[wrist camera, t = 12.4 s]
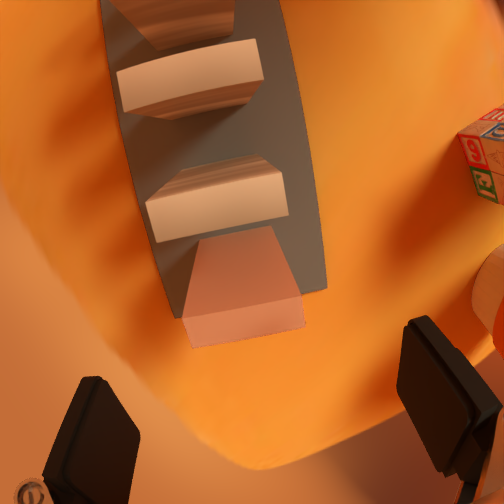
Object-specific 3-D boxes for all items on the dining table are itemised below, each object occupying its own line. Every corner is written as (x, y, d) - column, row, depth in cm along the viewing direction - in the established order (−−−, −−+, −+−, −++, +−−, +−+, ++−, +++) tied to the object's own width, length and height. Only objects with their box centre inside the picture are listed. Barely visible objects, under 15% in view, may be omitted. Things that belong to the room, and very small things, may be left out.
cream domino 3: (182, 169, 21) (145, 202, 11) (257, 153, 21) (281, 172, 11) (187, 192, 21) (156, 242, 12) (261, 177, 21) (288, 215, 12)
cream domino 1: (154, 31, 17) (103, -32, 8) (228, 14, 17) (230, -64, 8) (157, 51, 17) (106, -3, 8) (232, 34, 17) (237, -36, 8)
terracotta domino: (199, 239, 22) (181, 318, 13) (270, 225, 22) (301, 295, 13) (205, 260, 23) (192, 348, 14) (274, 246, 23) (305, 327, 14)
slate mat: (99, -27, 15) (97, -29, 14) (259, -64, 15) (259, -66, 14) (175, 315, 25) (174, 318, 25) (326, 285, 25) (327, 288, 24)
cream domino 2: (166, 97, 19) (116, 72, 9) (242, 80, 19) (255, 38, 9) (171, 120, 19) (123, 112, 10) (247, 103, 19) (263, 79, 10)
